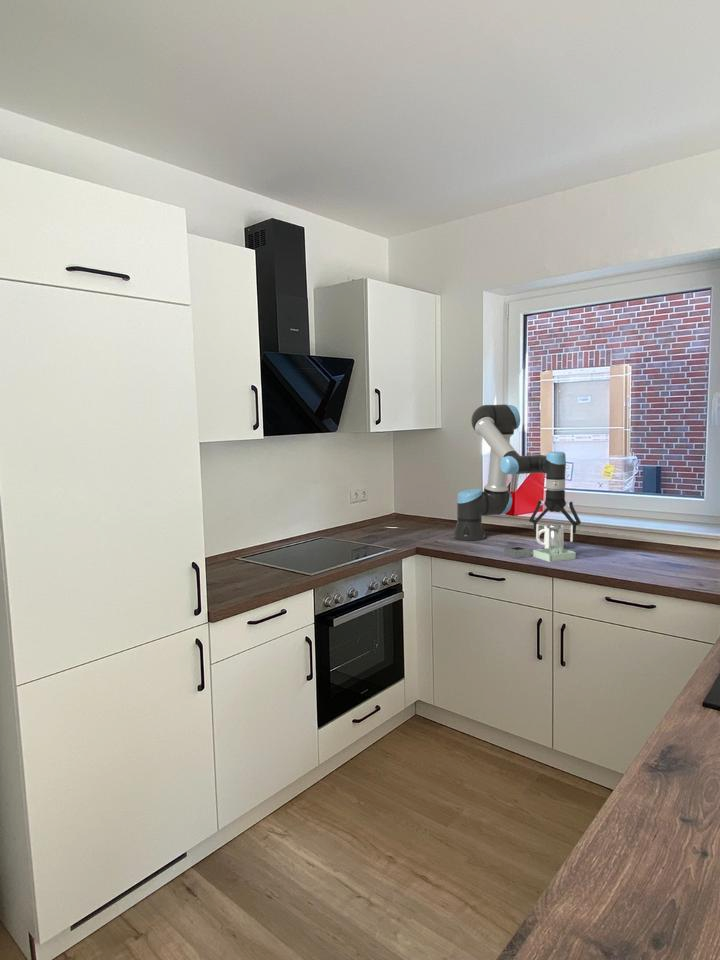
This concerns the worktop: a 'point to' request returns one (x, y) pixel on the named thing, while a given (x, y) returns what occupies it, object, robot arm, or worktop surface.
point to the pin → (553, 538)
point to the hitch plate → (517, 551)
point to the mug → (546, 537)
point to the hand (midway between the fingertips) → (554, 540)
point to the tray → (561, 556)
